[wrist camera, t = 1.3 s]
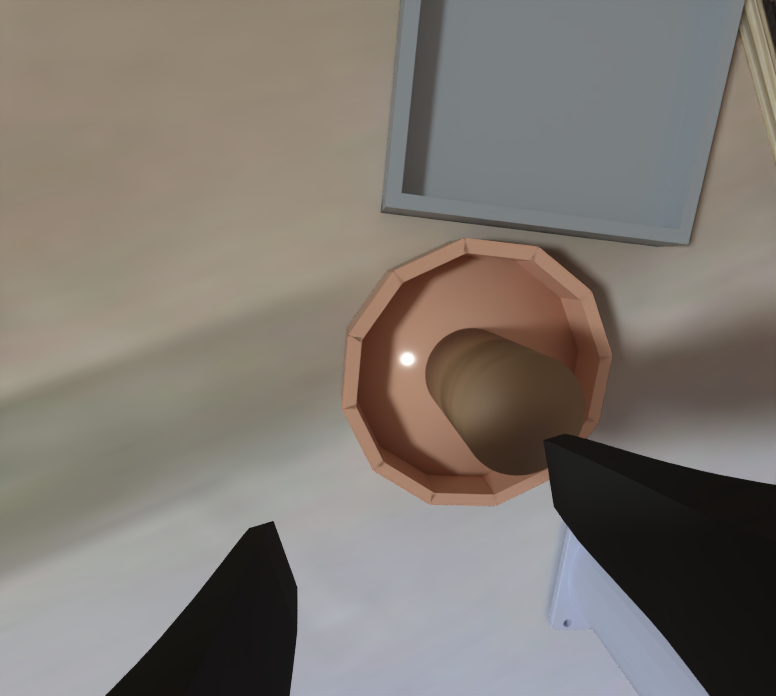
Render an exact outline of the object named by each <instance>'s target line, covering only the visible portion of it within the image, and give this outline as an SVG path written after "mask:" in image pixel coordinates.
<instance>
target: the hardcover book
mask: <svg viewBox="0 0 776 696" xmlns="http://www.w3.org/2000/svg"><path fill="white" fill-rule="evenodd" d="M738 29H739V33H740V37H741V40H742V44H743V47H744V51H745V55H746V58H747V62H748V65H749V69H750V73H751V76H752V80H753V84H754V87H755V91H756V94H757V98H758V102H759V105H760V109H761V113H762V116H763V120H764V123H765V127H766V131H767V134H768V138H769V142H770V145H771V149H772V152H773V156H774V160H775V163H776V0H745V2H744V6H743V10H742V15H741V19H740V23H739V28H738Z"/></svg>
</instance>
